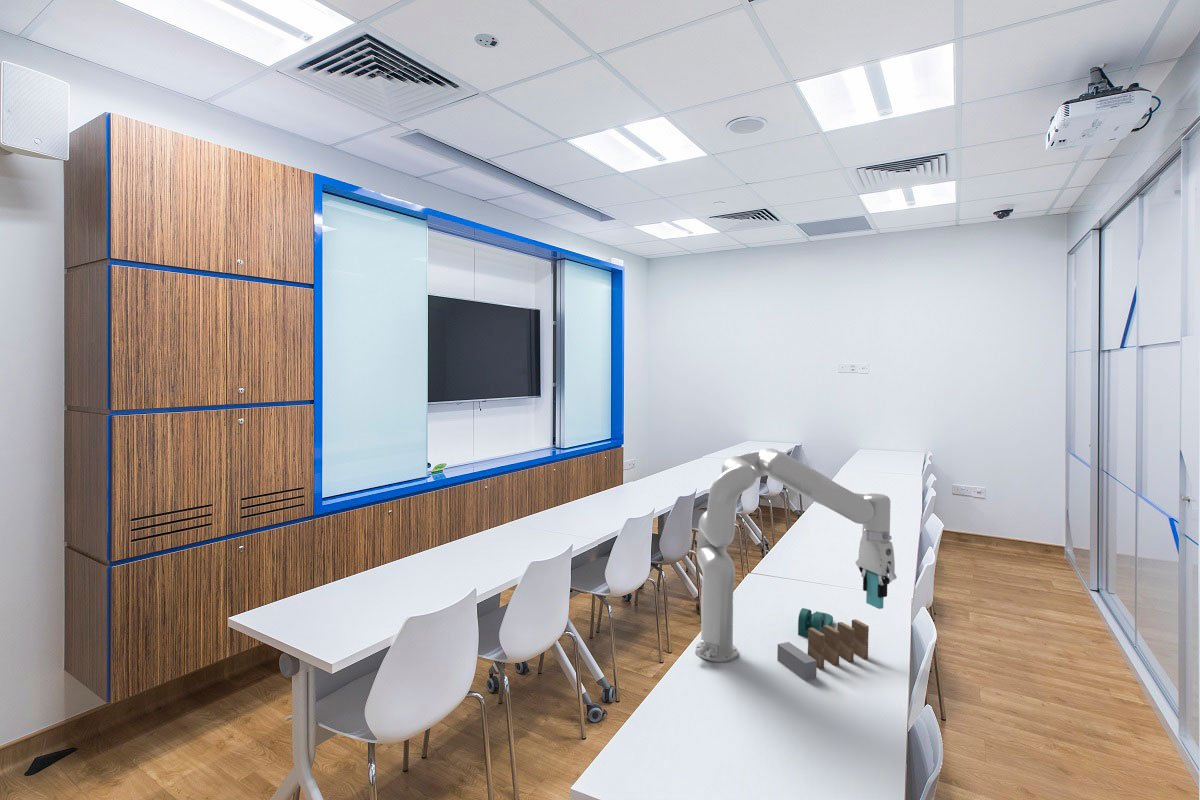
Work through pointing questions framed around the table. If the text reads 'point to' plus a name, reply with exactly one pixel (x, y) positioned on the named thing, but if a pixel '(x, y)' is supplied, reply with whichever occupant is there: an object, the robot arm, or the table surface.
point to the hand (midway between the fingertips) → (874, 592)
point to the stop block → (797, 661)
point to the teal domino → (873, 590)
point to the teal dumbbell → (812, 621)
